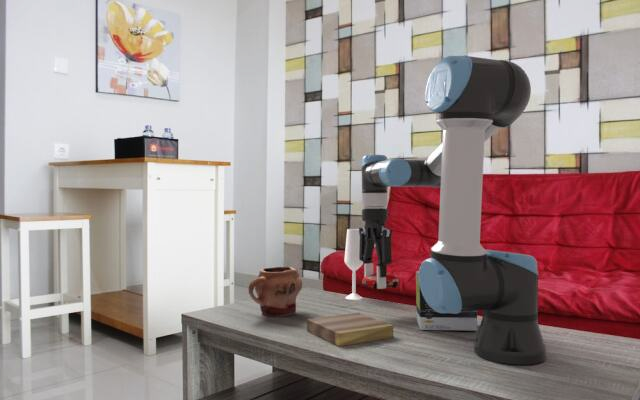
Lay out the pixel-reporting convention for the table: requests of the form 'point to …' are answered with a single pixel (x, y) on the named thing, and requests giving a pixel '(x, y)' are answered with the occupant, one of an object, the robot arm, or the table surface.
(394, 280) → the race car
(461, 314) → the tea box
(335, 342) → the square wooden board
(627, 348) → the table surface
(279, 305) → the terracotta clay mug
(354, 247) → the champagne flute
